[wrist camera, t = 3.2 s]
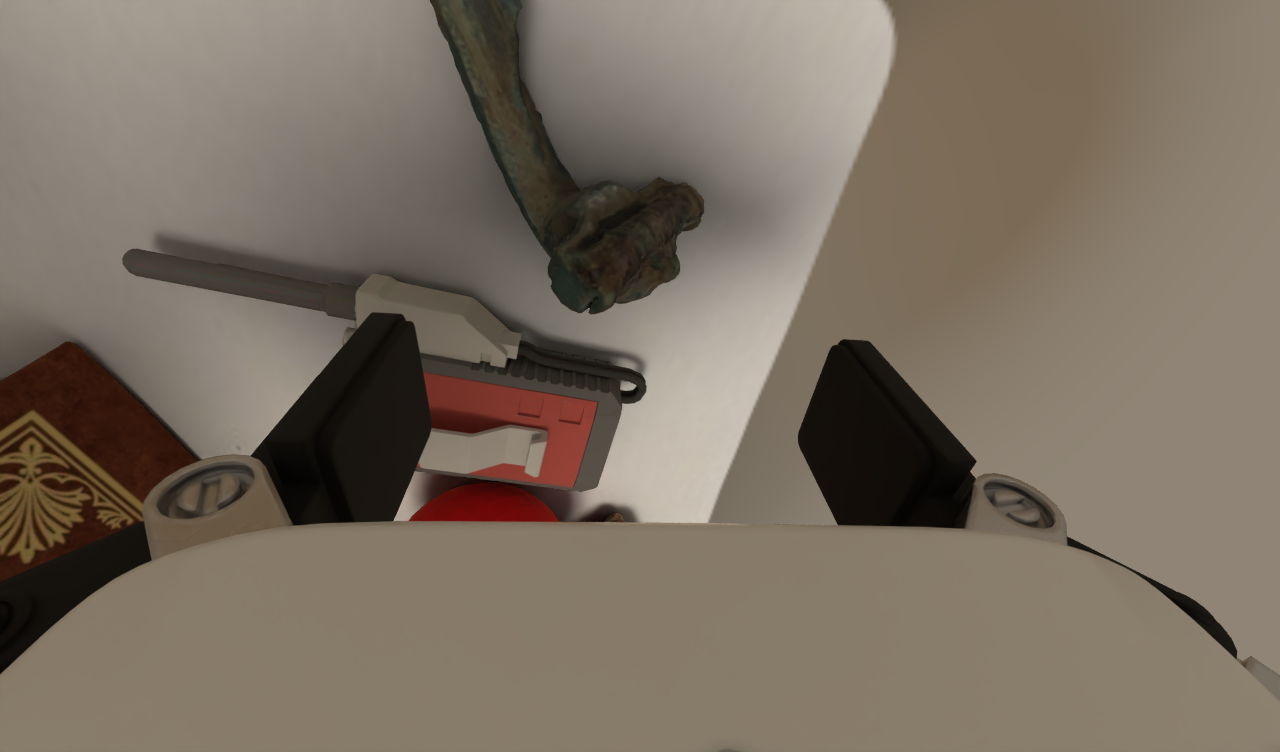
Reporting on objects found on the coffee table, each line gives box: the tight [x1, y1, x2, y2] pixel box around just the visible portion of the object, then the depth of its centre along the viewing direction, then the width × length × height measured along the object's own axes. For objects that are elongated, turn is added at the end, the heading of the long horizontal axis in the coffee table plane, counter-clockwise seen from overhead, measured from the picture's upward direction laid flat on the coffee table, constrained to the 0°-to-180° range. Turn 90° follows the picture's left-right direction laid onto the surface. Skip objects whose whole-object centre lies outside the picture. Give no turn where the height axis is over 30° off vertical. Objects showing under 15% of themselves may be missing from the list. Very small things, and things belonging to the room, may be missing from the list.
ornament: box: [409, 482, 559, 522], centre depth 25 cm, size 9×9×10 cm
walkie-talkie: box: [122, 249, 646, 492], centre depth 21 cm, size 9×4×20 cm
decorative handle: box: [430, 0, 704, 314], centre depth 16 cm, size 15×7×5 cm
